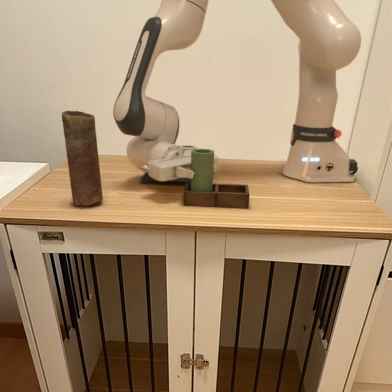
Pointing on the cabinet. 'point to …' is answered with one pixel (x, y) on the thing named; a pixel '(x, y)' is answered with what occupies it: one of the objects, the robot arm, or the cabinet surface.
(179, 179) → the mat
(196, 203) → the divided wooden tray
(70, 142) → the weathered brown tube
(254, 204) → the cabinet surface
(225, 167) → the cabinet surface
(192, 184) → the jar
